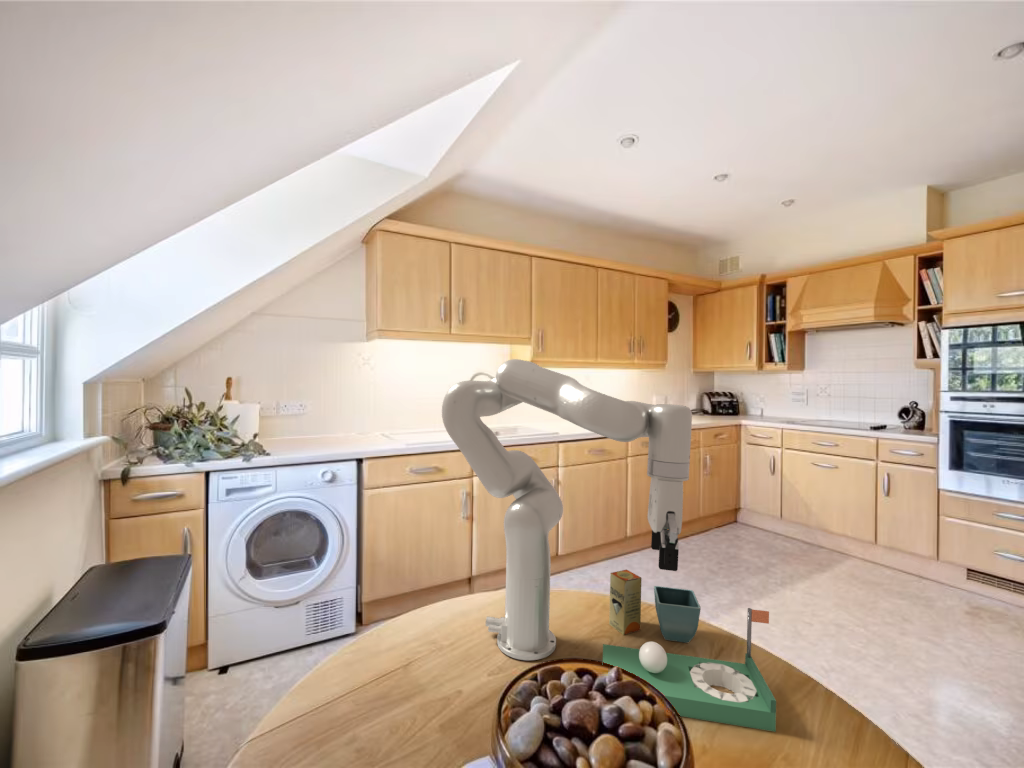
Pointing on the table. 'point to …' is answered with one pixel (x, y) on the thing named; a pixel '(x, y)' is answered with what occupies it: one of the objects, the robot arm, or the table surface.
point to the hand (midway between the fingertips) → (663, 559)
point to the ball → (653, 657)
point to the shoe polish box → (625, 601)
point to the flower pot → (677, 613)
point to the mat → (706, 687)
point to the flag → (754, 617)
